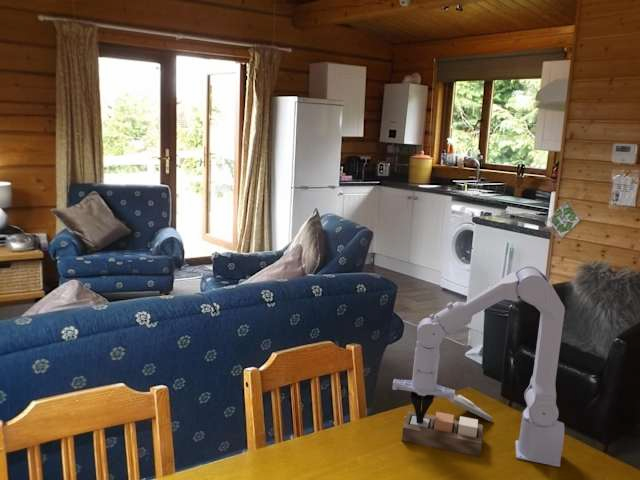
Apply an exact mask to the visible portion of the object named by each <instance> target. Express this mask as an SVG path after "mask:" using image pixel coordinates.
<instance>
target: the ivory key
mask: <svg viewBox="0 0 640 480" xmlns="http://www.w3.org/2000/svg"><path fill="white" fill-rule="evenodd" d="M478 424H479V419H476V418H471V417H467V416H459V428H458V434H460V435H465V436H470V437H475V438H476V435H477V427H478Z"/></svg>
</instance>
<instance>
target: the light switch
mask: <svg viewBox="0 0 640 480" xmlns="http://www.w3.org/2000/svg"><path fill="white" fill-rule="evenodd" d="M446 399H447V400H448V401H450V402H451V403H452V404H454V405H456V406H458V407H459V408H461V409H464V410H466V411H468V412H470V413H472V414H474V415H476V416H478V417H481V418H483V419H484V420H487V421H489V422H491V423H492V422H493V420H494V418H493V417H492V416H491V415H489V414H488V413H487V412H485V410H482V409H481V408H480V407H478V406H477V405H476V404H474V402H472V400H469V399H468V398H466V397H464V396H463V395H461V394H457V395H456V393H455V394H454V401H452V400H449V399H448V398H446Z"/></svg>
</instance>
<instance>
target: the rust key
mask: <svg viewBox="0 0 640 480" xmlns="http://www.w3.org/2000/svg"><path fill="white" fill-rule="evenodd" d="M434 416H435V421H434V430H439V431H444V432H449V433H452V428H453V420H454V419H455V418H454V417H455V415H454V414H450V413H445V412H440V411H436V412H435V415H434Z"/></svg>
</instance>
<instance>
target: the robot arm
mask: <svg viewBox="0 0 640 480" xmlns="http://www.w3.org/2000/svg"><path fill="white" fill-rule="evenodd" d="M518 297H520V299H522V301H524V302H526V303H527V304H529V305H532V306H534V307H535V308H536V309H537V310H538V311H539V313H540V315H539V316H540V317H539V323H538V324H539V326H538V332H537V340H536V346H535V347H536V349H535V355H534V356H535V357H534V365H533V372H532V375H531V378H530V381H529V385H528V387H527V388H526V389H525V391H524V394H523V396H524V400H525V403H526V407H525V409H524V410H523V412H522V415H521V423H520V431H519V437H518V439H517V440H515V442H514V443H515V445H514V446H515V457H516V459H519V460H523V461H528V462H533V463H539V464H542V465H548V466H554V467H556V468H557V467H558V468H559V467H561V459H562V455H563V454H562V453H563V448H564V447H563V446H564V440H565V423H564V422H562V421H559V420H558V418H559V413H560V412H559V408H558V406H557V391H556V389H557V388H556V379H557V372H558V371H557V370H558V367H559V366H558V364H559V356H560V349H561V342H562V334H563V328H564V327H563V325H564V320H565V314H566V308H565V306H564V303H563V302H562V300H561V299H560V296H559V295H558V293H557V292H556V290H555V288H554V287H553V285H552V283H551V281H550V280H549V279H548V277H547V276H546V275H545V274H544V273H543V272H542V271H541V270H539V269H538V268H536V267H535V266H530V265H529V266H528V265H527V266H523V267H520V268H519V269H518V270H517V271H516V272H515V271H512V272H511V273H508V274H507V275H506V276H504V277H503V278H501V279H499V280H498V281H497V282H495V283H494V284H492V285H491V286H489V287H488V288H486V289H484V290H482V291H481V292H480V293H478V294H477V295H475V296H474V297H472V298H471V299H469V300H467V301H465V302H463V301H462V302H461V301H459V300H457V301H456V302H454V303H453V302H452V301H450V302H447V304H446V308H443V309H442V310H440V311H438V312H437V313H435V314H434V313H432V314H430V315H429V317H426V318H422V320H421V321H419V323H418V325H417V329H416V339H417V340H416V342H415V343H416V344H415V349H414V360H413V367H412V377H411V378H412V379H397V378H394V379H393V381H392V390H394V391H397V390H401V391H406V392H411V393H410V401H411V403H412V405H413V409H414V412H415V413H416V420H417V423H421V424H422V423H423V419H424V416H425V414H427V412H428V410H429V408H430V406H431V405H432V404H433V403H434V399H435V397H437V398H443V399H447V398H448V399H449V400H448V399H447V400H448V401H450V400H452V401H454V394H455V395H456V393H455V392H456V389H452V388H449V387H446V386H442V385H440V384H437V381H438V380H437V379H438V373H439V362H440V353H441V351H440V345H441V344H442V342H443V339H444V338H447V337H449V336H451V335H453V334H455V333H456V332H458V331H460V330H461V329H463V328H465V327H467V326H468V325H469V324H471V323H472V320H473V316H474V315H476V314H478V313H481V312H482V311H484V310H486V309H488V308H490V307H492V306H494V305H496V304H497V303H499V302H502V301H504V300H507V301H512V302H519V298H518Z"/></svg>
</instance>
